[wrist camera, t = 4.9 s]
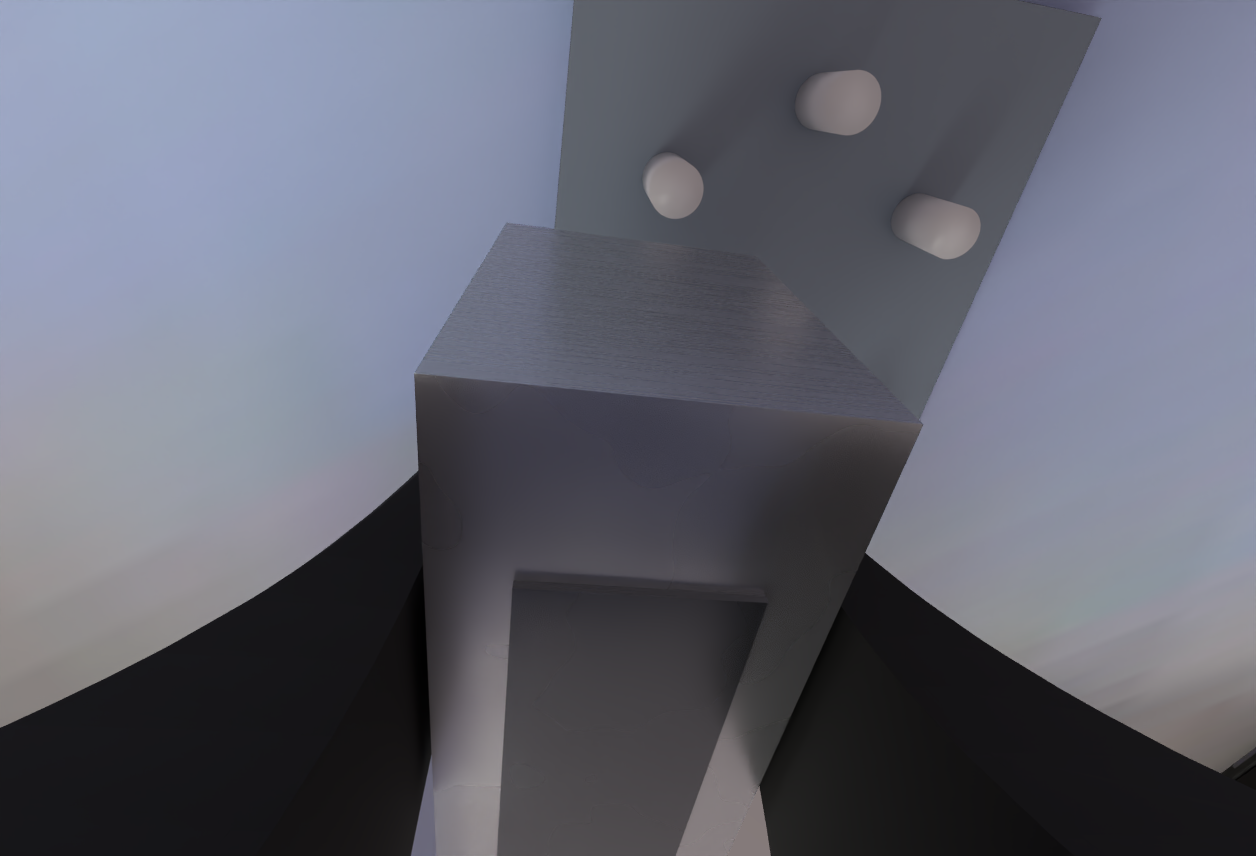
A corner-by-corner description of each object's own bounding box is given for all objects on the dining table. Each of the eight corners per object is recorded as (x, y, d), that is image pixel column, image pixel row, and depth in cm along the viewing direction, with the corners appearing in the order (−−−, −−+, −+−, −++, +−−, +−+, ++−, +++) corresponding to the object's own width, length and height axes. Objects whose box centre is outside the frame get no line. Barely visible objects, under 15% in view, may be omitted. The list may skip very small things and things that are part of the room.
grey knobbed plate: (852, 531, 22) (885, 586, 19) (532, 505, 20) (524, 560, 18) (1076, 21, 14) (1177, 7, 12) (582, -83, 13) (580, -124, 10)
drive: (669, 603, 13) (713, 894, 9) (493, 594, 13) (435, 895, 8) (755, 256, 9) (929, 430, 5) (507, 222, 9) (410, 378, 4)
